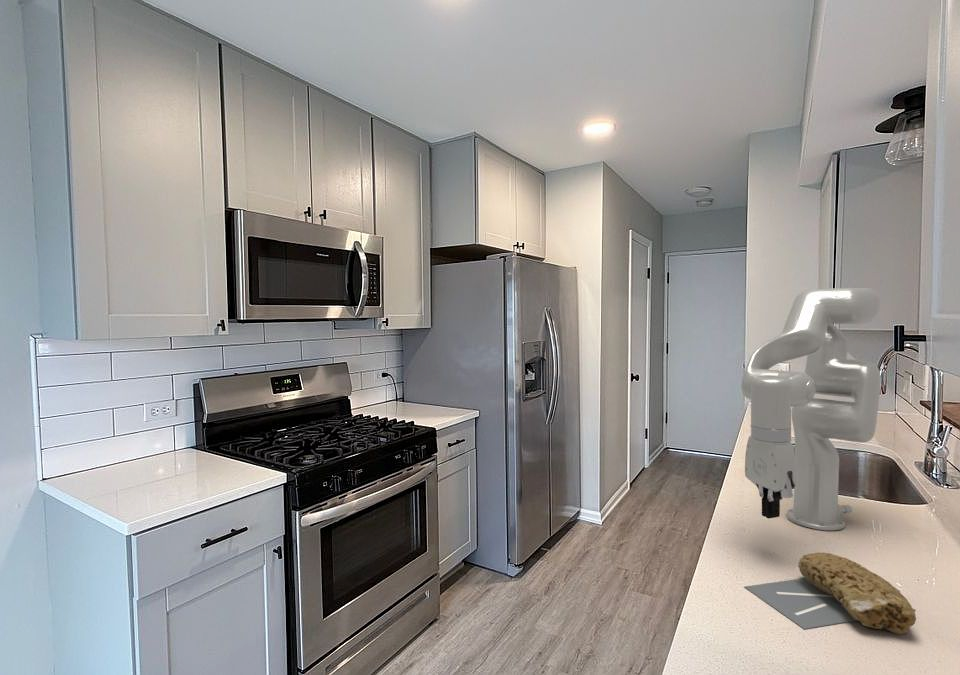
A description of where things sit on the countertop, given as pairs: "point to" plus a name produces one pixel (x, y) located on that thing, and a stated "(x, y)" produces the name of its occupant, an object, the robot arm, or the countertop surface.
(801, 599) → the mat
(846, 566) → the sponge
